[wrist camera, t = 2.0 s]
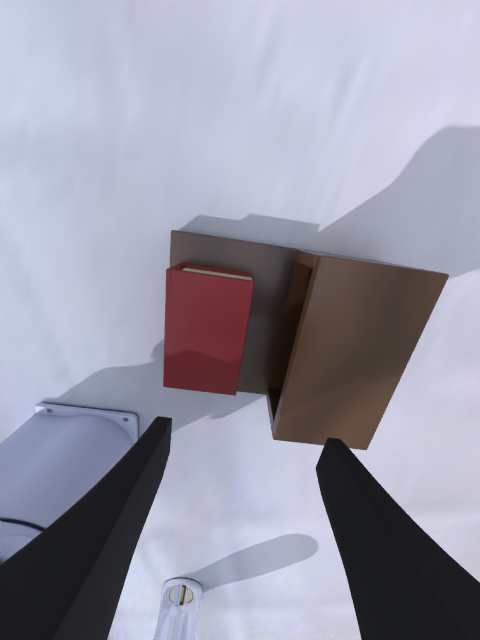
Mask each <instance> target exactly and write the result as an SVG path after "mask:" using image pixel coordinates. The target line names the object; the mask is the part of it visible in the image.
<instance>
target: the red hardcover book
mask: <svg viewBox="0 0 480 640" xmlns="http://www.w3.org/2000/svg"><path fill="white" fill-rule="evenodd" d="M254 284H255V282H254V280H252V273H245V272H238V271H232V270H225V269H218V268H211V267H204V266H197V265H190V264H184V263H179V264H177V265H175V266H173V267H170V268H168V269H167V270H166V304H165V343H164V381H163V387H169V388H178V389H186V390H194V391H202V392H211V393H219V394H227V395H236V391H237V385H238V379H239V373H240V367H241V361H242V355H243V349H244V343H245V338H246V332H247V326H248V320H249V314H250V308H251V302H252V296H253V290H254Z"/></svg>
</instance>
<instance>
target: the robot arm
mask: <svg viewBox="0 0 480 640" xmlns="http://www.w3.org/2000/svg"><path fill="white" fill-rule="evenodd" d="M34 412H35V415H33V416H32V417H31V418H30V419H29V420H28V421H26V422H25V423H24V424H23V425H22V426H21V427H19V428H18V429H17V430H16V431H15V432H14V433H13V434H11V435H10V436H9V437H8V438H7V439H6V440H4V441H3V442H2V443H1V444H0V640H107V638H108V635H109V632H110V629H111V625H112V622H113V619H114V615H115V612H116V609H117V605H118V602H119V599H120V595H121V592H122V589H123V586H124V582H125V579H126V576H127V573H128V570H129V566H130V563H131V560H132V557H133V554H134V551H135V548H136V545H137V542H138V540H139V537H140V535H141V532H142V529H143V527H144V524H145V522H146V519H147V516H148V514H149V511H150V509H151V506H152V503H153V501H154V498H155V496H156V493H157V490H158V488H159V485H160V483H161V480H162V477H163V474H164V470H165V467H166V463H167V460H168V456H169V453H170V442H171V425H172V418H167V417H159V416H158V417H157V418H155V420H154V421H153V422H152V424H151V425H150V426H149V427H148V429H147V430H146V431H145V432H144V433H143V435H142V436H141V437H140V438H139V439H138V418H137V416H136V415H135V414H132V413H124V412H115V411H106V410H98V409H89V408H80V407H71V406H63V405H54V404H45V403H38V404H37V405H36V406H35V407H34ZM316 472H317V477H318V482H319V487H320V491H321V495H322V499H323V502H324V505H325V508H326V512H327V515H328V518H329V521H330V524H331V527H332V530H333V534H334V537H335V540H336V543H337V546H338V549H339V552H340V555H341V558H342V562H343V565H344V569H345V572H346V576H347V579H348V583H349V588H350V592H351V596H352V600H353V604H354V608H355V612H356V616H357V621H358V625H359V630H360V634H361V639H362V640H480V583H479V582H478V581H477V580H476V579H475V578H474V577H473V576H472V575H470V574H469V573H468V572H467V571H466V570H465V569H464V568H463V567H461V566H460V565H459V564H458V563H457V562H456V561H455V560H454V559H453V558H452V557H451V556H449V555H448V554H447V553H446V552H445V551H444V550H443V549H442V548H441V547H440V546H439V545H438V544H437V543H436V542H435V541H434V540H433V539H432V538H431V537H430V536H429V535H428V534H426V533H425V532H424V531H423V530H422V529H421V528H420V527H419V526H418V525H417V524H416V523H415V522H414V521H413V520H412V518H411V517H410V516H409V515H408V514H407V513H406V512H405V511H404V510H403V509H402V508H401V507H400V506H399V505H398V504H397V503H396V502H395V501H394V499H393V498H392V497H391V496H390V495H389V494H388V493H387V492H386V491H385V490H384V488H383V487H382V486H381V485H380V484H379V483H378V482H377V480H376V479H375V478H374V477H373V476H372V475H371V474H370V472H369V471H368V470H367V469H366V468H365V467H364V465H363V464H362V463H361V462H360V461H359V460H358V458H357V457H356V456H355V455H354V454H353V453H352V451H351V450H350V449H349V448H348V447H347V446H346V444H345V443H344V442H343V441H342V440H341V439H338V438H330V437H328V438H327V440H326V443H325V446H324V448H323V451H322V453H321V456H320V458H319V461H318V463H317V466H316Z"/></svg>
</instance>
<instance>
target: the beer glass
mask: <svg viewBox="0 0 480 640" xmlns="http://www.w3.org/2000/svg"><path fill="white" fill-rule="evenodd" d="M202 593H203V589H202V586H201V585H200V584H199V583H197V582H196V581H193V580H190V579H185V578H177V579H171V580H169V581H167V582H165V583H164V585H163V587H162V591H161V600H160V609H159V616H158V622H157V626H156V630H155V634H154V638H153V640H195V631H196V623H197V617H198V612H199V607H200V603H201V599H202Z"/></svg>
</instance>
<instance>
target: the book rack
mask: <svg viewBox="0 0 480 640" xmlns="http://www.w3.org/2000/svg"><path fill="white" fill-rule="evenodd" d="M179 263H184V264H190V265H197V266H204V267H211V268H218V269H225V270H232V271H238V272H245V273H252V280H254V282H255V284H254V290H253V296H252V302H251V308H250V314H249V320H248V326H247V332H246V338H245V343H244V349H243V355H242V361H241V367H240V373H239V379H238V385H237V391H240V392H249V393H257V394H265V395H266V397H267V404H268V410H269V417H270V423H271V429H272V435H273V439H274V440H281V441H290V442H299V443H308V444H316V445H325V443H326V440H327V438H328V437H330V438H338V439H341V440H342V441H343V442H344V443H345V444H346V446H347V447H348V448H352V449H361V450H367V448H368V446H369V444H370V442H371V440H372V438H373V436H374V433H375V431H376V429H377V427H378V425H379V423H380V421H381V419H382V417H383V414H384V412H385V410H386V408H387V406H388V404H389V402H390V400H391V397H392V395H393V393H394V391H395V389H396V387H397V385H398V383H399V381H400V378H401V376H402V374H403V372H404V370H405V368H406V366H407V364H408V361H409V359H410V357H411V355H412V353H413V351H414V349H415V347H416V345H417V342H418V340H419V338H420V336H421V334H422V332H423V330H424V328H425V325H426V323H427V321H428V319H429V317H430V315H431V313H432V311H433V309H434V306H435V304H436V302H437V300H438V298H439V296H440V294H441V292H442V289H443V287H444V285H445V283H446V281H447V279H448V277H449V275H448V274H445V273H440V272H434V271H429V270H424V269H418V268H413V267H407V266H402V265H396V264H391V263H386V262H380V261H374V260H367V259H361V258H354V257H348V256H341V255H335V254H328V253H321V252H315V251H308V250H302V249H295V248H289V247H282V246H275V245H269V244H262V243H256V242H249V241H242V240H236V239H229V238H223V237H216V236H210V235H203V234H196V233H190V232H183V231H176V230H171V248H170V267H173V266H175V265H177V264H179Z"/></svg>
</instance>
